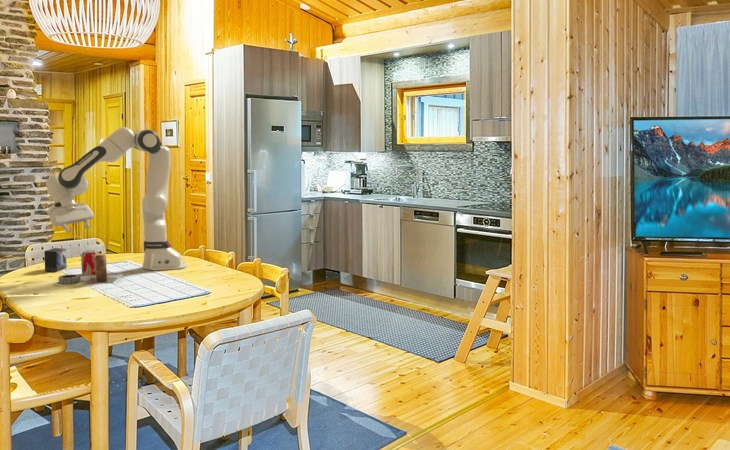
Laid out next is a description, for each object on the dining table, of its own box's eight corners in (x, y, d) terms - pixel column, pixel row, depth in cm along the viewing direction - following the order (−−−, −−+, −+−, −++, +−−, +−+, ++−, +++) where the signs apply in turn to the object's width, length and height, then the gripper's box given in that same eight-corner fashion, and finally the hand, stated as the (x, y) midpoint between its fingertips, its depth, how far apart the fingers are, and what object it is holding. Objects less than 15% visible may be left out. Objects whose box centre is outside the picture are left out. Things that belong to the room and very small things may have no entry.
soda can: (91, 277, 304) (90, 252, 302) (78, 276, 305) (77, 252, 304) (100, 274, 311) (99, 250, 309) (87, 273, 312) (86, 250, 311)
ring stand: (87, 281, 294) (86, 273, 293) (80, 287, 282) (80, 278, 282) (59, 282, 291) (58, 274, 291) (51, 288, 280) (51, 279, 279)
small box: (57, 272, 316) (56, 251, 315) (44, 271, 316) (43, 251, 315) (67, 268, 327) (66, 248, 326) (55, 267, 327) (54, 247, 326)
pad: (117, 279, 299) (117, 277, 299) (112, 285, 288) (112, 282, 287) (90, 280, 297) (90, 277, 297) (84, 285, 285) (84, 283, 285)
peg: (107, 279, 293) (106, 254, 291) (106, 281, 289) (105, 256, 287) (97, 280, 292) (96, 254, 290) (95, 282, 287) (94, 256, 286)
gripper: (83, 205, 314) (95, 229, 312) (43, 212, 298) (56, 237, 296) (88, 199, 311) (101, 222, 309) (48, 205, 294) (61, 230, 292)
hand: (78, 230), depth 302 cm, fingers open, 8 cm apart
